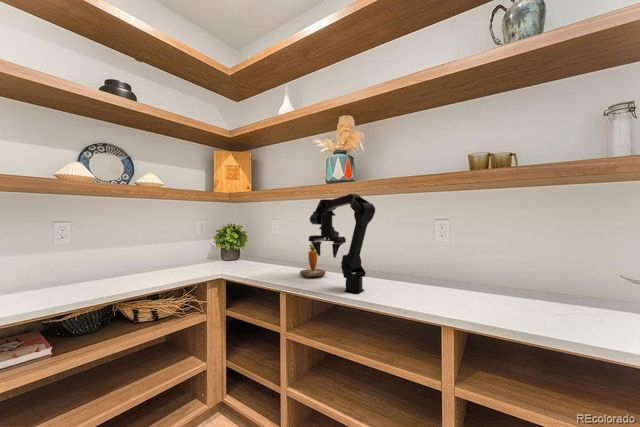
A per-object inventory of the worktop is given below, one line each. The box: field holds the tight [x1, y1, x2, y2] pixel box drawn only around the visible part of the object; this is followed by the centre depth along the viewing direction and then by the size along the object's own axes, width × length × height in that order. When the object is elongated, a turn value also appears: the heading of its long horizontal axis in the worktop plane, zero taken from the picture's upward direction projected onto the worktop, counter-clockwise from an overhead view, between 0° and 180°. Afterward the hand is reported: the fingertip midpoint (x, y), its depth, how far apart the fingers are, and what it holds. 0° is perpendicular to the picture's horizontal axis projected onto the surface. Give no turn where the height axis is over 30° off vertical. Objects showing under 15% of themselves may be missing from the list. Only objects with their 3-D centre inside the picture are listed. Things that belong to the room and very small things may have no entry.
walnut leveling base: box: [299, 268, 326, 279], centre depth 147 cm, size 14×14×3 cm
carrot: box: [307, 243, 318, 271], centre depth 147 cm, size 5×5×15 cm
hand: (326, 256), depth 131 cm, fingers open, 9 cm apart
